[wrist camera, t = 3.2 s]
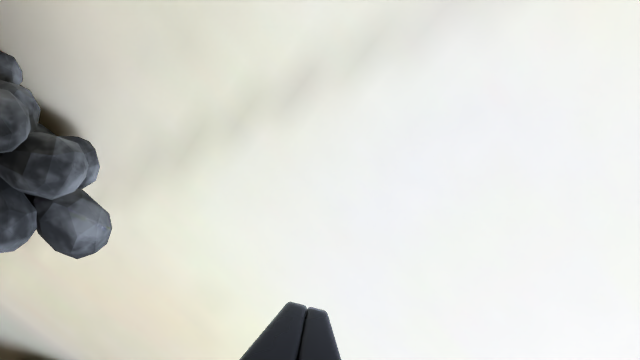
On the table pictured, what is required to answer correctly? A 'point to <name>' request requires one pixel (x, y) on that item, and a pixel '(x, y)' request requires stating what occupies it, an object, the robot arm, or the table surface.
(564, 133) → the table surface
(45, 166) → the fruit
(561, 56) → the table surface
